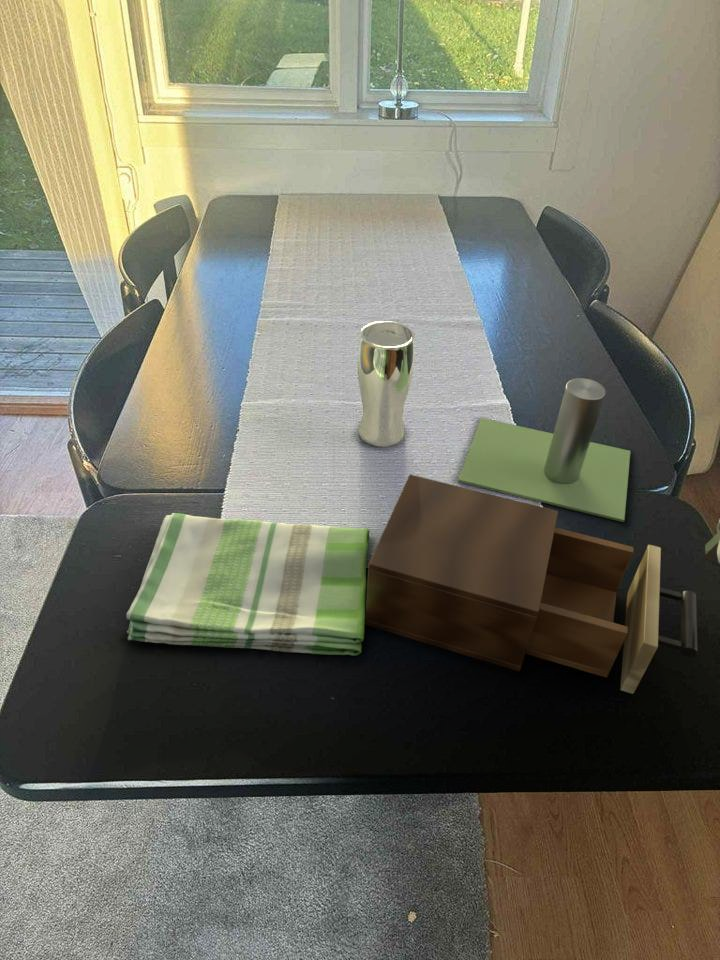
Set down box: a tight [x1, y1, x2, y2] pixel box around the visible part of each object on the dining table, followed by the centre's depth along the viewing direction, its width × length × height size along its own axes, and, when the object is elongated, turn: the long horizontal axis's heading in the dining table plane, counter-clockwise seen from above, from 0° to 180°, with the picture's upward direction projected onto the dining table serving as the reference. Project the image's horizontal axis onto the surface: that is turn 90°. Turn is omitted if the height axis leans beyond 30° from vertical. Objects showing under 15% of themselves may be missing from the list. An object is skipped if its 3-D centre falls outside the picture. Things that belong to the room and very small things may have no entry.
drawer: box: [525, 526, 699, 695], centre depth 67 cm, size 19×12×7 cm, turn 71°
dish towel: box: [125, 512, 371, 657], centre depth 72 cm, size 17×23×4 cm
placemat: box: [457, 417, 631, 523], centre depth 90 cm, size 20×14×1 cm
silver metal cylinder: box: [544, 377, 606, 484], centre depth 84 cm, size 4×4×13 cm
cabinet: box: [365, 474, 559, 672], centre depth 70 cm, size 16×14×9 cm
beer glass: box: [357, 320, 415, 448], centre depth 89 cm, size 7×7×15 cm
